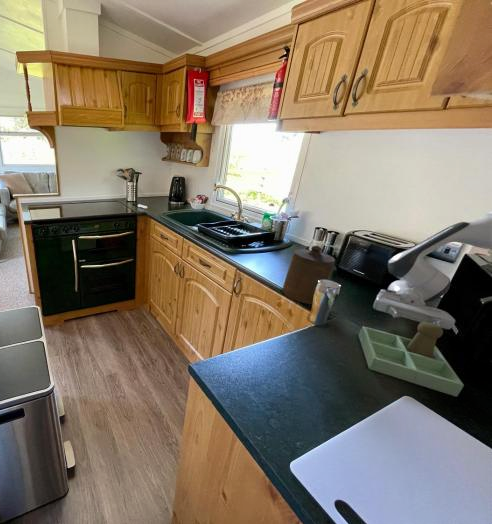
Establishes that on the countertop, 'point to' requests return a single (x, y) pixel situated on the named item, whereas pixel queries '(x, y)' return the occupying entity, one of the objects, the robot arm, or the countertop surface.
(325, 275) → the wooden container
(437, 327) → the cork
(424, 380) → the compartment tray
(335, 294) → the beer glass
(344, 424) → the countertop surface
